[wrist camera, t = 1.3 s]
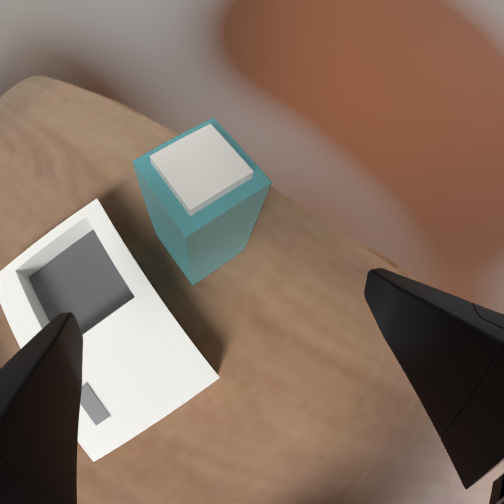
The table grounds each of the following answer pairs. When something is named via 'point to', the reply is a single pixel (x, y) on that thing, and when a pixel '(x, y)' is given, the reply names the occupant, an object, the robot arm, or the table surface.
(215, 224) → the plug
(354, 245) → the table surface
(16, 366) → the robot arm
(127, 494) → the table surface
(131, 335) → the socket plate
